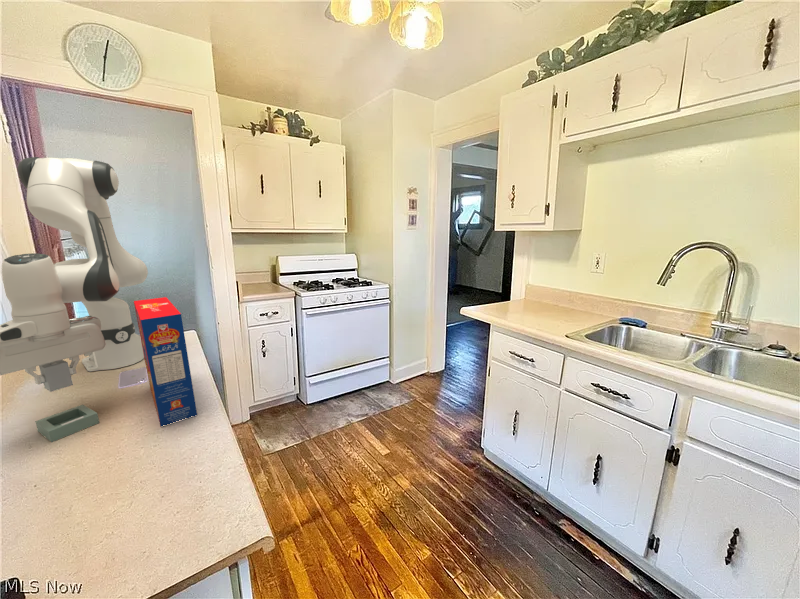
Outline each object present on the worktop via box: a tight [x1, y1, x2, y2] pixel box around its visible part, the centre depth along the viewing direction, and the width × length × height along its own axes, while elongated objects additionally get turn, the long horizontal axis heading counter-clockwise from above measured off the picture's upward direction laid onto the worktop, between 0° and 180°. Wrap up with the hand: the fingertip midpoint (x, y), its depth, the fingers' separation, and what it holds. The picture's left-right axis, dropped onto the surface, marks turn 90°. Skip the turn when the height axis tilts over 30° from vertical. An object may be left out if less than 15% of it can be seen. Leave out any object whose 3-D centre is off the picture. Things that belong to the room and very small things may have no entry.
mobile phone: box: [117, 366, 149, 389], centre depth 112 cm, size 8×1×15 cm
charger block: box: [38, 359, 74, 393], centre depth 81 cm, size 4×4×6 cm
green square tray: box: [35, 404, 100, 443], centre depth 84 cm, size 9×9×3 cm
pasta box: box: [133, 296, 198, 427], centre depth 94 cm, size 28×8×28 cm, turn 41°
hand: (56, 378), depth 81 cm, fingers closed on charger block, 4 cm apart
